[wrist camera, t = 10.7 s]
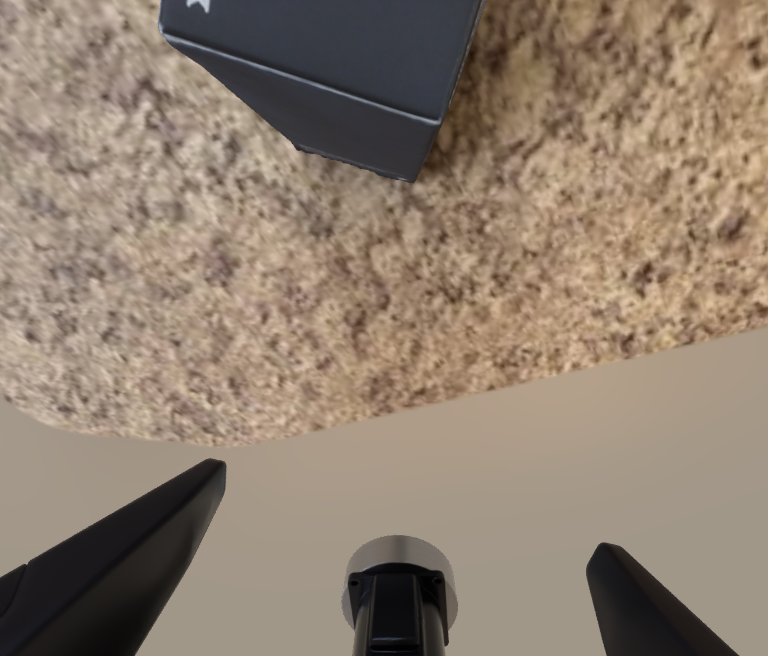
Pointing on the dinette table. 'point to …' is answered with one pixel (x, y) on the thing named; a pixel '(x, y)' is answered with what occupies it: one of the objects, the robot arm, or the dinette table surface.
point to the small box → (336, 69)
